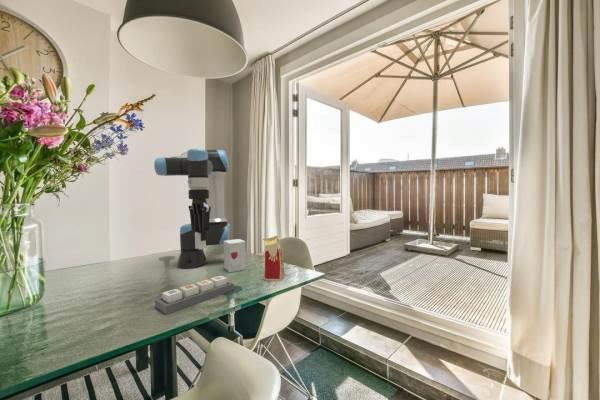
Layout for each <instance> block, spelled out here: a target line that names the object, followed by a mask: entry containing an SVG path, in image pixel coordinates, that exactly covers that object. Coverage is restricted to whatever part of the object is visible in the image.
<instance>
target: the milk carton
mask: <svg viewBox="0 0 600 400" xmlns="http://www.w3.org/2000/svg"><path fill="white" fill-rule="evenodd" d="M262 240H263V241H264V271H263V272H264V273H263V280H264V281H268V282H269V281H272V282H273V281H277V282H281V281H282V279H283V278H284V276H285V274H286V273H285V263H284V256H283V252H282V248H281V244H280V239H279V235H275V236H272V237H267V238H262Z"/></svg>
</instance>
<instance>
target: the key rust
mask: <svg viewBox="0 0 600 400" xmlns="http://www.w3.org/2000/svg"><path fill="white" fill-rule="evenodd" d="M179 290H180V291H182V296H184V297H186V298H187V297H190V296H193V295H196V294H199V290H198V286H196V284H193V283H191V284H186V285H183V286H181V287H179Z"/></svg>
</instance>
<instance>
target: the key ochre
mask: <svg viewBox="0 0 600 400" xmlns="http://www.w3.org/2000/svg"><path fill="white" fill-rule="evenodd" d="M195 285H196V286H198V290H199V291H200V292H205V291H208V290H211V289H213V282H212V281H210V279H205V280H201V281H198V282H195Z"/></svg>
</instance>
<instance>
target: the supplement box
mask: <svg viewBox="0 0 600 400" xmlns="http://www.w3.org/2000/svg"><path fill="white" fill-rule="evenodd" d="M246 250H247V249H246V241H245V240H243V239H241V238H238V239H237V238H235V239H229V240H226V241H224V244H223V264H224V266H223V269H225V270H226V271H227V272H228V273H233V272H238V271H239V272H240V271H245V270H247V264H246V263H247V262H246V259H247V257H246Z"/></svg>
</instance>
